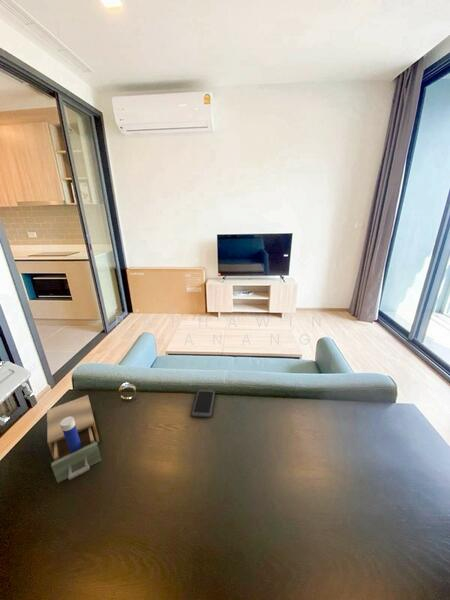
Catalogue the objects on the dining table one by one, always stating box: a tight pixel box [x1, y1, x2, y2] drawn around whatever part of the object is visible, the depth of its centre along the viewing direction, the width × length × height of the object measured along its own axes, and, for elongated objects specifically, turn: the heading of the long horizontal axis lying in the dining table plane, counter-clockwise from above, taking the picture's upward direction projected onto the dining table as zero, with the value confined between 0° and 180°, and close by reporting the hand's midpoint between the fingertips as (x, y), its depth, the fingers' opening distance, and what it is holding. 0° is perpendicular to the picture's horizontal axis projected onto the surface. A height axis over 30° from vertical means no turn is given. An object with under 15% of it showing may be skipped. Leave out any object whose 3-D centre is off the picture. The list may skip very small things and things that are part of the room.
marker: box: [60, 417, 82, 454], centre depth 73 cm, size 3×3×14 cm
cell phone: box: [191, 389, 216, 418], centre depth 97 cm, size 7×14×1 cm, turn 175°
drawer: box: [50, 426, 102, 484], centre depth 75 cm, size 19×11×7 cm, turn 35°
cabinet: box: [46, 394, 100, 462], centre depth 83 cm, size 16×13×9 cm
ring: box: [117, 382, 137, 401], centre depth 98 cm, size 7×3×8 cm, turn 98°
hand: (20, 408), depth 69 cm, fingers open, 8 cm apart
